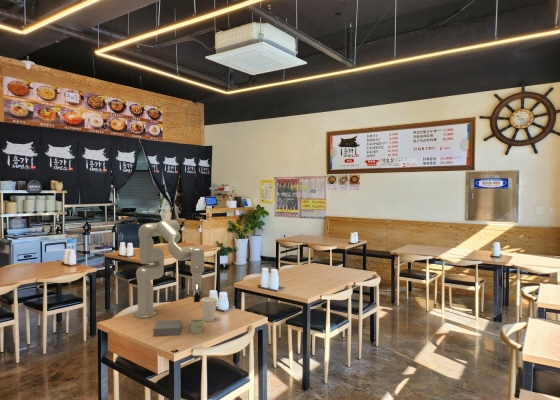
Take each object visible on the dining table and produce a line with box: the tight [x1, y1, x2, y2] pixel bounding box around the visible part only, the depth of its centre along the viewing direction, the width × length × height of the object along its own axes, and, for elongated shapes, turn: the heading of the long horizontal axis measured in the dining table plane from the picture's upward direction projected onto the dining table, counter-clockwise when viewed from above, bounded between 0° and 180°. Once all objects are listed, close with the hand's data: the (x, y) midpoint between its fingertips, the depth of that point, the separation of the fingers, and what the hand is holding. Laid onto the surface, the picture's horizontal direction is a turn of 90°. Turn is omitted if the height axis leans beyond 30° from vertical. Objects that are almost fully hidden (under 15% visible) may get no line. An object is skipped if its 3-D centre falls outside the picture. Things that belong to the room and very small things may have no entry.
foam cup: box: [201, 296, 218, 323], centre depth 246 cm, size 10×9×13 cm
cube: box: [190, 318, 203, 334], centre depth 226 cm, size 6×6×6 cm
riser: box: [153, 319, 182, 337], centre depth 225 cm, size 14×14×4 cm
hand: (197, 299), depth 226 cm, fingers open, 9 cm apart
